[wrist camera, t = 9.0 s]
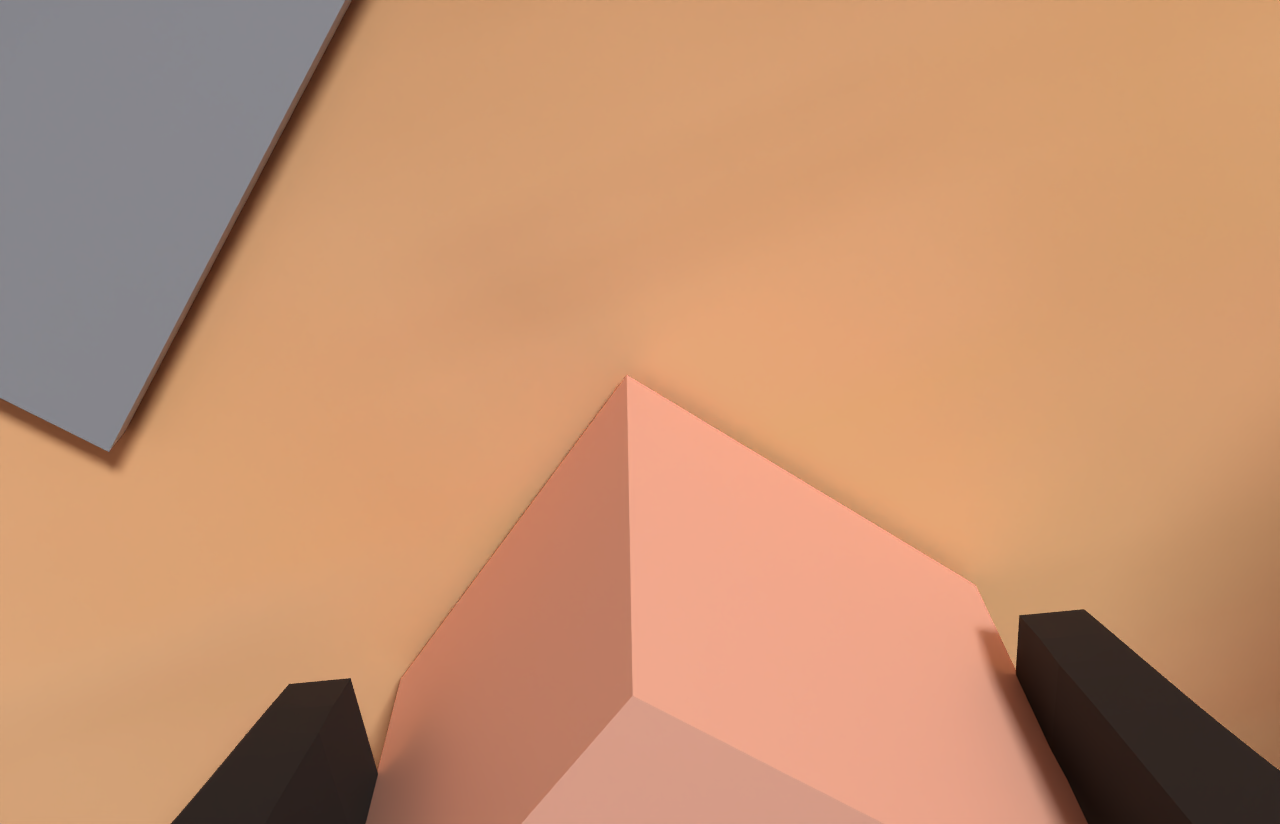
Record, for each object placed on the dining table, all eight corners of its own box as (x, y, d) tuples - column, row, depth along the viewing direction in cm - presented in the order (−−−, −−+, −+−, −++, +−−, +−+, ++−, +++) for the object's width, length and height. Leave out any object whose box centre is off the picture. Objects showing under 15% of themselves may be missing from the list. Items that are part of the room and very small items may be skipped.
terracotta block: (975, 584, 12) (1151, 960, 8) (726, 836, 14) (772, 1250, 10) (626, 374, 11) (631, 695, 7) (401, 678, 13) (299, 1078, 9)
